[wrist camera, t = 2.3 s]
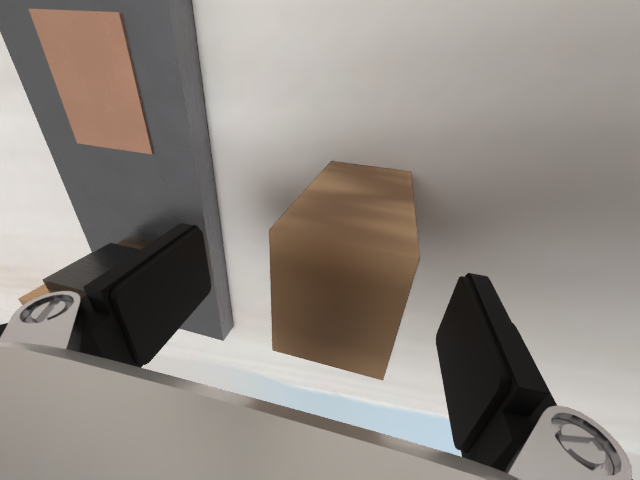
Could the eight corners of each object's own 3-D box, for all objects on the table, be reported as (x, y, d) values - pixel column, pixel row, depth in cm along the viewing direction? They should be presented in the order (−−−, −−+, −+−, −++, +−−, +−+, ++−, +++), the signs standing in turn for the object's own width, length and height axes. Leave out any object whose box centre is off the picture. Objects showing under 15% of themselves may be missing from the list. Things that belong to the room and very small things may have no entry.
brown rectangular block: (410, 171, 14) (419, 258, 7) (388, 264, 16) (379, 390, 10) (331, 160, 14) (269, 229, 8) (323, 251, 17) (272, 360, 10)
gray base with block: (186, -38, 12) (-64, -178, 5) (233, 326, 23) (169, 419, 17) (6, -39, 14) (-338, -144, 7) (131, 299, 25) (38, 373, 18)
